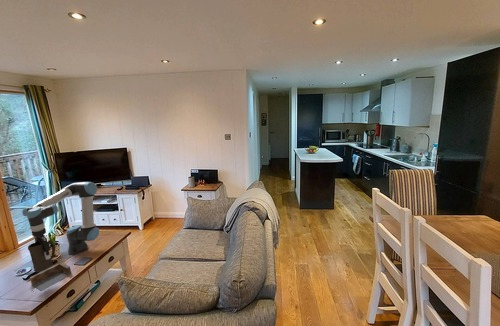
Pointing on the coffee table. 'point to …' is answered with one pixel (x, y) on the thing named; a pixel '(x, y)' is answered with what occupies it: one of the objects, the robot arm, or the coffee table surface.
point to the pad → (50, 281)
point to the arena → (50, 272)
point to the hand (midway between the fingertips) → (45, 257)
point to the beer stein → (41, 256)
